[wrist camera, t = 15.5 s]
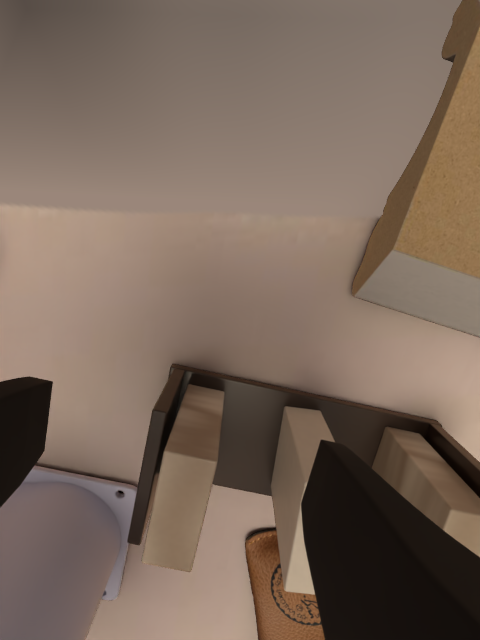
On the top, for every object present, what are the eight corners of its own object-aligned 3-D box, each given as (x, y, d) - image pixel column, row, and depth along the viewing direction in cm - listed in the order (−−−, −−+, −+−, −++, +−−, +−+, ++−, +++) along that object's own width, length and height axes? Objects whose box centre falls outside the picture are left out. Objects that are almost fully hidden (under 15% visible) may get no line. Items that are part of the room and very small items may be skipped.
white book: (270, 486, 21) (283, 592, 15) (284, 405, 20) (304, 481, 14) (305, 490, 21) (333, 598, 15) (320, 409, 20) (358, 488, 14)
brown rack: (151, 465, 21) (109, 573, 14) (172, 363, 20) (137, 427, 13) (402, 516, 22) (475, 641, 15) (437, 420, 21) (536, 510, 14)
